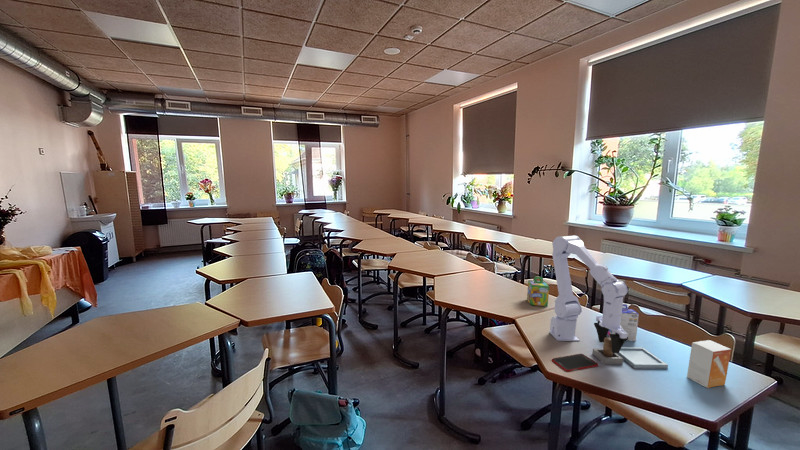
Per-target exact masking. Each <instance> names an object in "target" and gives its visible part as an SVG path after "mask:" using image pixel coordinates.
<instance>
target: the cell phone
mask: <svg viewBox="0 0 800 450" xmlns="http://www.w3.org/2000/svg"><path fill="white" fill-rule="evenodd" d="M551 362H552V363H554V364H555V365H556V366H558V367H559V368H560V369H562V371H564V372H567V373H568V372H574V371H579V370H584V369H590V368H596V367H599V363H598V362H596V361H595V360H593V359H592V358H590V357H588V356H587V355H585V354H583V353H576V354H569V355H565V356H559V357H554V358H552V359H551Z"/></svg>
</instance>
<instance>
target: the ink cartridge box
mask: <svg viewBox="0 0 800 450" xmlns="http://www.w3.org/2000/svg"><path fill="white" fill-rule="evenodd" d="M639 316H640V313H638V312H637V311H635V310H634V309H632V308H630V309H629V308H628V304H627V303H626V304H625V303H623V305H622V314H621V324H620V326H621V327H622V328H623V330H624V331H625V332H626V333H627V337H628V340H627V341H632V342H637V335H638V325H639ZM609 334H615V332H613V331H612V330H610V329H609V331H608V334H607V337H610V335H609Z"/></svg>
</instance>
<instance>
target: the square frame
mask: <svg viewBox="0 0 800 450" xmlns="http://www.w3.org/2000/svg"><path fill="white" fill-rule="evenodd" d="M602 354H603V348H599V347H598V348H597V347H595V348H592V355H593V356H594V357H595V358H596V359H598V361H600V363H602V364H604V365H623V364H624V359H623V358H622V357H621V356H619V355H618V354H617V353H613V357H605V356H604V355H602Z"/></svg>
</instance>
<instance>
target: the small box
mask: <svg viewBox="0 0 800 450" xmlns="http://www.w3.org/2000/svg"><path fill="white" fill-rule="evenodd" d="M731 352H732V349H731V348H729V347H727V346H724V345H722V344H720V343H717V342H716V341H713V340H710V339H707V340H699V341H694V342H691V347H690V353H689V362H688V368H687V374H686V378H687V379H690V380H691V381H693V382H695V383H697V384H699V385H701V386H703V387H705V388H707V389H710V388H715V387H720V386H725V385H726V380H727V374H728V369H729V364H730V358H731Z"/></svg>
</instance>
